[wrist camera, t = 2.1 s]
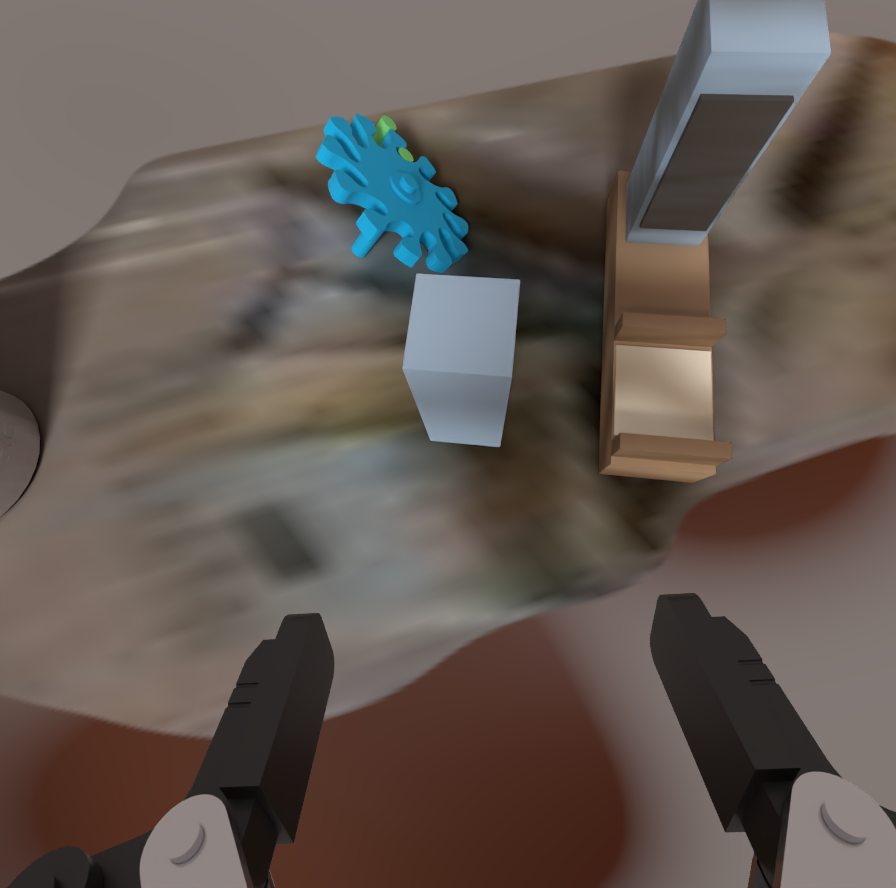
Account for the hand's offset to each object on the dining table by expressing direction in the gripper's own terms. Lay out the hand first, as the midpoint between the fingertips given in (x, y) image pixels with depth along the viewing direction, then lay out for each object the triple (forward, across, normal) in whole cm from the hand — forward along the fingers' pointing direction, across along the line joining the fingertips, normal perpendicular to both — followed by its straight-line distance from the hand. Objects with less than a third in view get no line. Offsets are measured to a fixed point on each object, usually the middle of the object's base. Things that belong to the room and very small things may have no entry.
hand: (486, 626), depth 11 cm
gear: (+26, +3, -6) cm, 27 cm away
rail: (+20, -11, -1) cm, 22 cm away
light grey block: (+17, 0, +2) cm, 17 cm away
